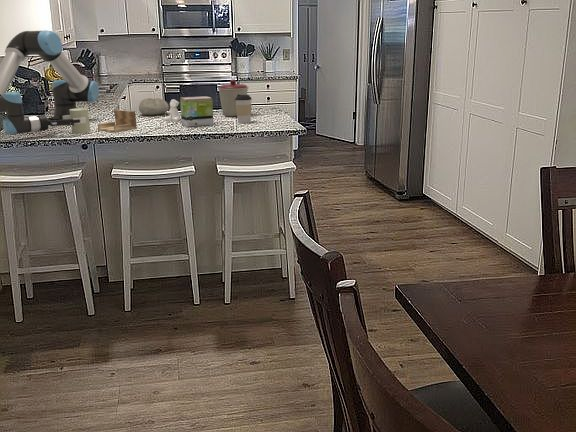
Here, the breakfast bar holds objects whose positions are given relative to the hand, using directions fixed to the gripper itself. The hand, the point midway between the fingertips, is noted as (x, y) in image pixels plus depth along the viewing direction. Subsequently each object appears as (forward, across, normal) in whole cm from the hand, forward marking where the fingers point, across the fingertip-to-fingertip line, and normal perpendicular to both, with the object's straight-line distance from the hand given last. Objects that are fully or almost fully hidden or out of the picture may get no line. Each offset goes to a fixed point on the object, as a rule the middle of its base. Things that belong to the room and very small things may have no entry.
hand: (80, 118), depth 302 cm
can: (0, 0, -7) cm, 7 cm away
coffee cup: (+77, +36, -7) cm, 85 cm away
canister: (+88, +11, -7) cm, 89 cm away
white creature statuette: (+52, +2, -7) cm, 53 cm away
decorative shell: (+56, -28, -7) cm, 64 cm away
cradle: (+16, +7, -7) cm, 19 cm away
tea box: (+54, +24, -7) cm, 60 cm away
